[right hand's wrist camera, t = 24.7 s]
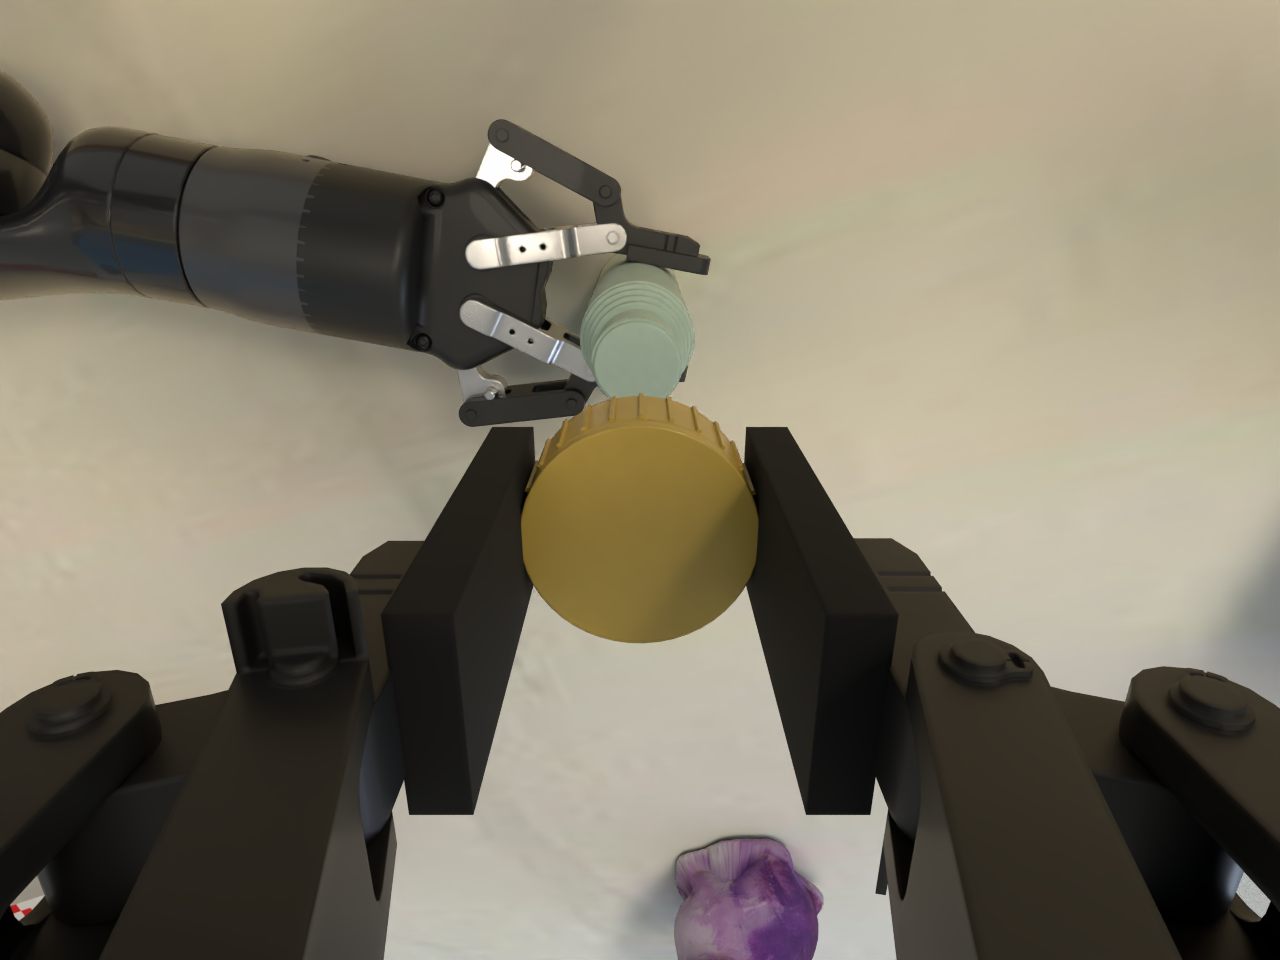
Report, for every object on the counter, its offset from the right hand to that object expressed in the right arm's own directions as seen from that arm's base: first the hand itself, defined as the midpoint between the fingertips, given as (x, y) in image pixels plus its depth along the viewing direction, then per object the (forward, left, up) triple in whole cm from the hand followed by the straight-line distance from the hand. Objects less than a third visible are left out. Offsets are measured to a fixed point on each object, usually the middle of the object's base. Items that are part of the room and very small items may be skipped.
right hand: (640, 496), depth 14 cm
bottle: (0, 0, -29) cm, 29 cm away
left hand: (-1, +2, -23) cm, 23 cm away
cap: (0, 0, +2) cm, 2 cm away
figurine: (+31, +30, -29) cm, 52 cm away
